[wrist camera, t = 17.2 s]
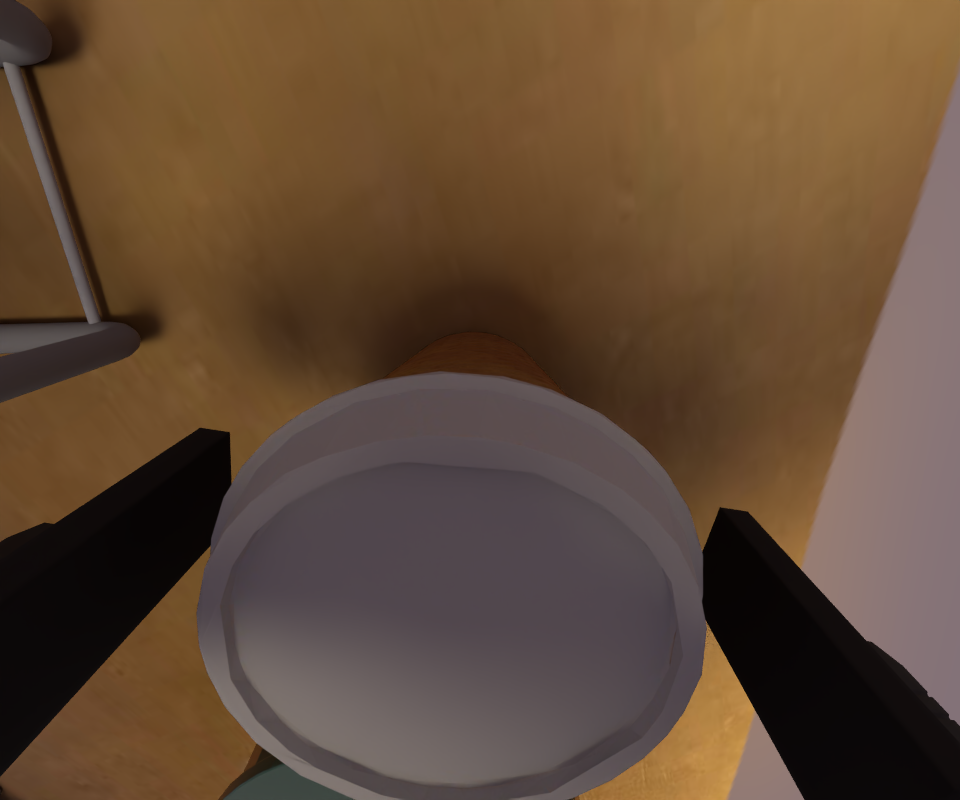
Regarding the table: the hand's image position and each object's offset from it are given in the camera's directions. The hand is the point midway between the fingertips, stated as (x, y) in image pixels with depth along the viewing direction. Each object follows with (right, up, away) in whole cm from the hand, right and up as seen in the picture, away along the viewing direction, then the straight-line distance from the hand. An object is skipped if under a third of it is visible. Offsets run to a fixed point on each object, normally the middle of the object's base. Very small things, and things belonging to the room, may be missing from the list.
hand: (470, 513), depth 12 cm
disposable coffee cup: (0, +3, +7) cm, 7 cm away
